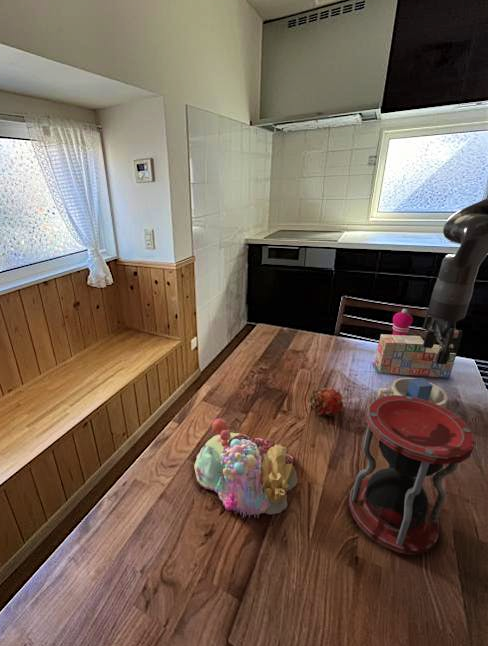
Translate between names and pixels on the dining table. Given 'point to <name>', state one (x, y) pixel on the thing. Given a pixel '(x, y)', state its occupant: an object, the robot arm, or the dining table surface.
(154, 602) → the dining table surface
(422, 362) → the stack of blocks
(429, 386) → the block
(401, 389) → the mug
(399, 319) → the pepper mill
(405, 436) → the hourglass
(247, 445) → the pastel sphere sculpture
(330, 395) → the dragon fruit
